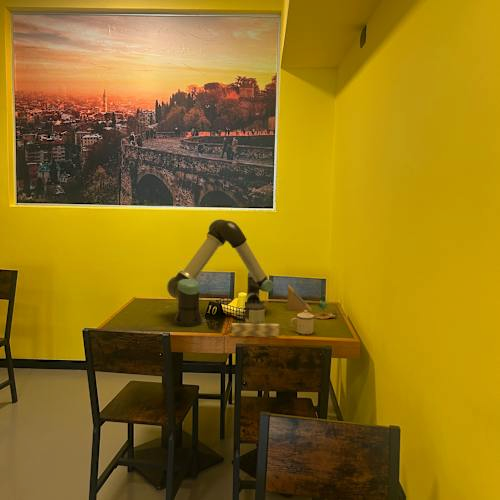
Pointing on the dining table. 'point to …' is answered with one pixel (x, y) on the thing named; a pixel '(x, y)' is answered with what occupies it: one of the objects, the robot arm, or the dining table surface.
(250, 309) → the coffee can
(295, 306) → the sandwich container
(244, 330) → the birch board
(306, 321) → the teacup with lid
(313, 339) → the dining table surface
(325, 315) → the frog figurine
